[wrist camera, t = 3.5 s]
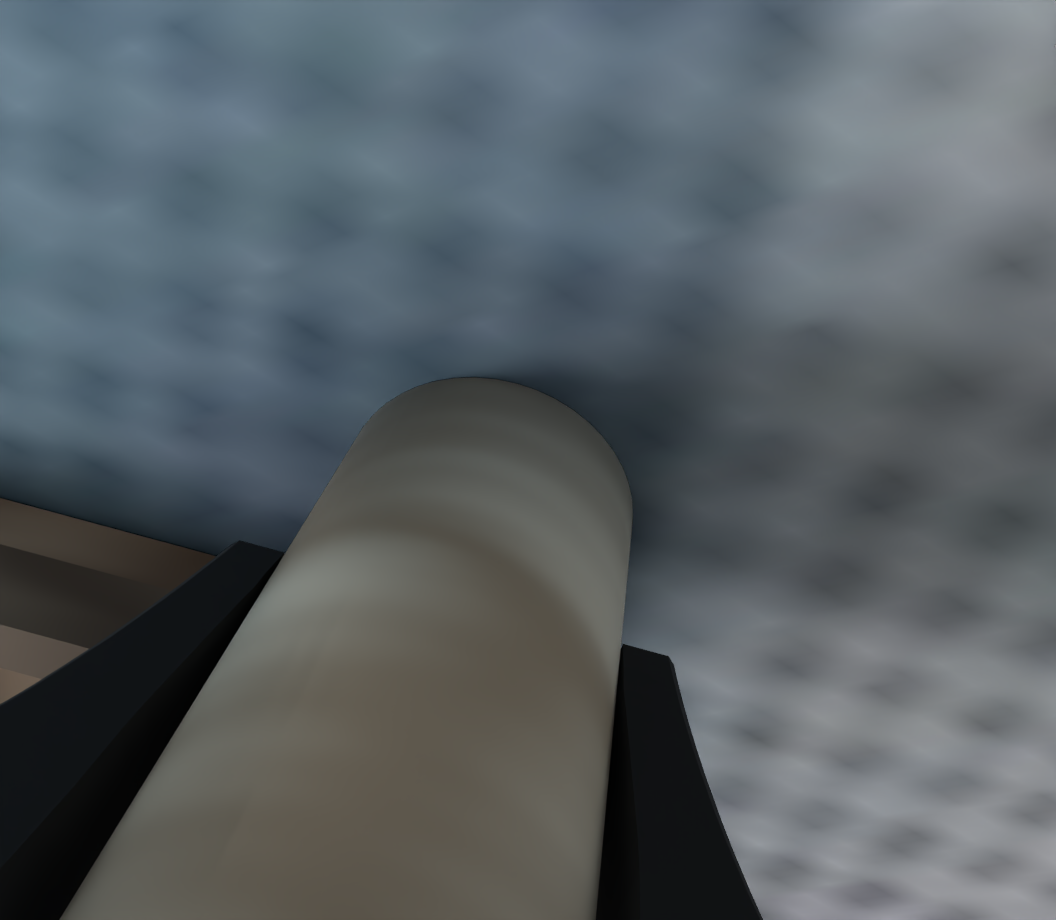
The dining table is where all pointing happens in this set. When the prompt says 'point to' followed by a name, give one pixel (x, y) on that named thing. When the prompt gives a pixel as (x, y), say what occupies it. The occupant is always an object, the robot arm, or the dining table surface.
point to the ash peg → (406, 690)
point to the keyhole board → (73, 587)
